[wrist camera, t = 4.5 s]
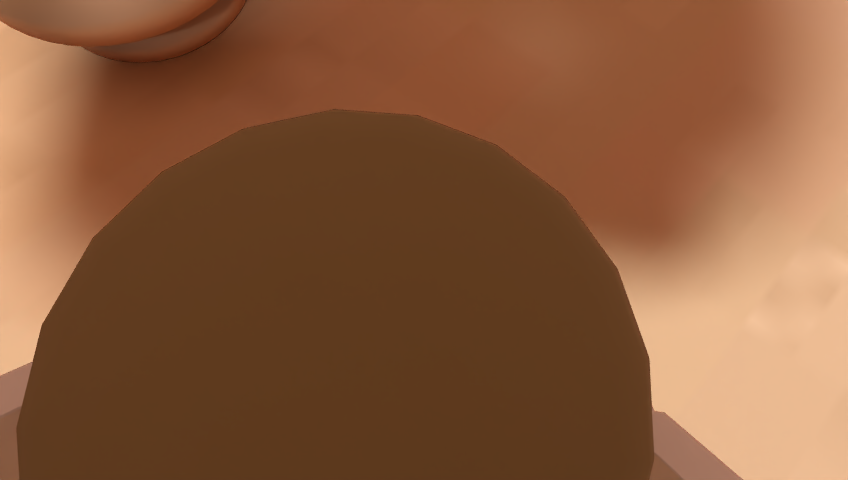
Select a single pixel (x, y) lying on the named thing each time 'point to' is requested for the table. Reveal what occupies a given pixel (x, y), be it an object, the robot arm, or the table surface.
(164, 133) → the table surface
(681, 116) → the table surface
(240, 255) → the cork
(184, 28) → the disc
